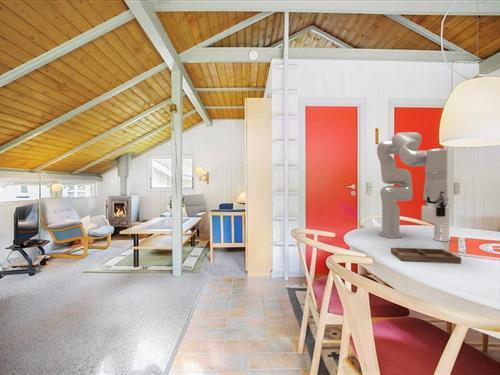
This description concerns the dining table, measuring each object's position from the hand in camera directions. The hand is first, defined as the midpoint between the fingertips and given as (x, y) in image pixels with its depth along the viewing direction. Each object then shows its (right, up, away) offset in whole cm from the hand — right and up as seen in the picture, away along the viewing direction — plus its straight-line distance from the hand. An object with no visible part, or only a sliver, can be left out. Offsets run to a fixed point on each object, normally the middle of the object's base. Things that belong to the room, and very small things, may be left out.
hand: (434, 214), depth 107 cm
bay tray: (-4, -20, +1) cm, 20 cm away
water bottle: (+27, -19, +29) cm, 44 cm away
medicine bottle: (0, -4, 0) cm, 4 cm away
